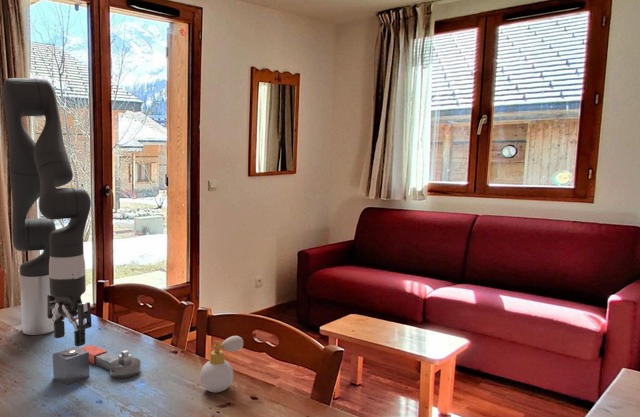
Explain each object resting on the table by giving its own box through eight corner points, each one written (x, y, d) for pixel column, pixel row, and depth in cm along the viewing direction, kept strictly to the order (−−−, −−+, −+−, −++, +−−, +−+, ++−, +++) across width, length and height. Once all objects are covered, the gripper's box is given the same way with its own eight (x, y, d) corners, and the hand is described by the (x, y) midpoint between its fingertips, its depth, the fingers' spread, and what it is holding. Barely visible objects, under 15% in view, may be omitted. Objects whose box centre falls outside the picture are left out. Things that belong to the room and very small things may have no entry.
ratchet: (71, 360, 131) (71, 339, 130) (96, 351, 137) (96, 331, 136) (121, 382, 120) (121, 359, 119) (146, 371, 125) (146, 350, 125)
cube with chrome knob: (53, 378, 120) (52, 352, 120) (75, 369, 125) (75, 345, 124) (66, 384, 117) (66, 358, 117) (89, 376, 122) (88, 350, 121)
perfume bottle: (193, 390, 116) (193, 340, 115) (224, 375, 124) (224, 328, 123) (216, 400, 112) (216, 348, 111) (246, 384, 120) (247, 335, 119)
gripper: (34, 272, 119) (37, 339, 121) (69, 281, 111) (71, 353, 113) (65, 266, 125) (67, 330, 127) (100, 275, 117) (102, 343, 119)
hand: (69, 341), depth 120 cm, fingers open, 8 cm apart
